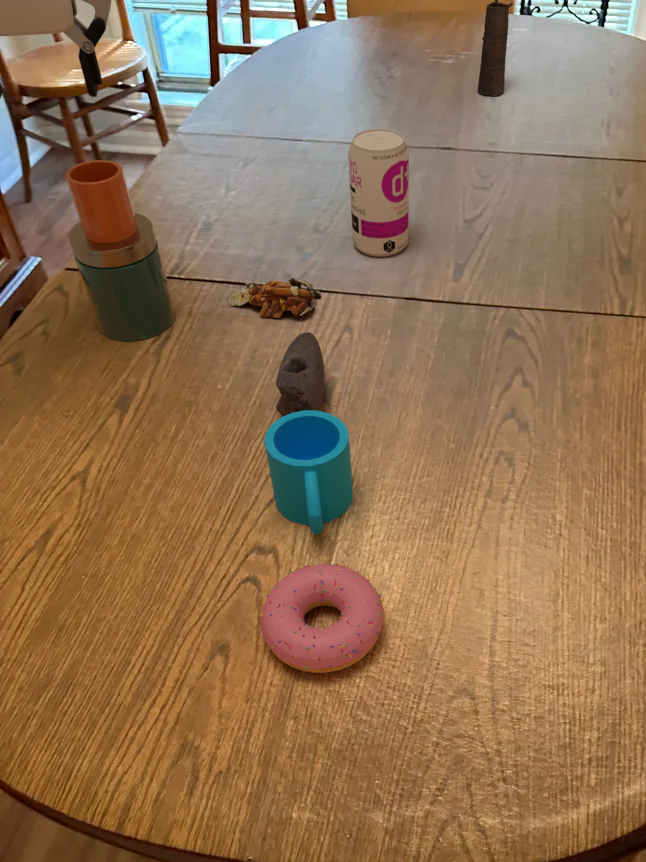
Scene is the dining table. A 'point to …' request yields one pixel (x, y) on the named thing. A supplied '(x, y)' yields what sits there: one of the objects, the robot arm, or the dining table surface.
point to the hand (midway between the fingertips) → (46, 95)
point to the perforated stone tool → (301, 376)
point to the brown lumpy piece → (277, 297)
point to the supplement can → (379, 191)
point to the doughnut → (323, 644)
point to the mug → (310, 467)
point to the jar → (130, 298)
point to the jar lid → (114, 246)
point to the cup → (102, 201)
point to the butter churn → (494, 49)
